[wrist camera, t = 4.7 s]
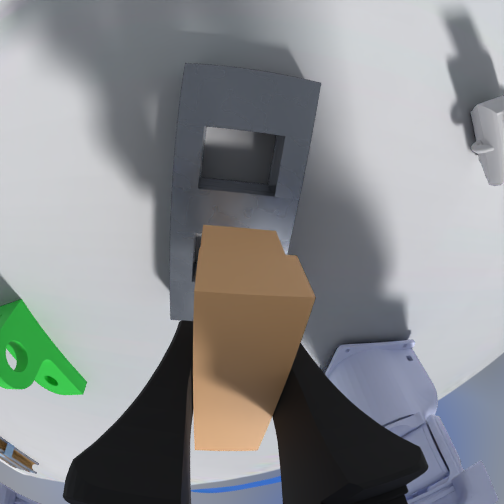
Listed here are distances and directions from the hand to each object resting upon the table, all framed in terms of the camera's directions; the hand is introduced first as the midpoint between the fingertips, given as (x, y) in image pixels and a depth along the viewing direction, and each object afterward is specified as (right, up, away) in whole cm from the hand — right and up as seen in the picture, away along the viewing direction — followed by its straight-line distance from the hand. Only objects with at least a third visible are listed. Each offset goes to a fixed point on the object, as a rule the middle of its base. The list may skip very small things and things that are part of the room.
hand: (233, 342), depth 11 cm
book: (-68, -48, +31) cm, 89 cm away
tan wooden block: (0, +1, +2) cm, 3 cm away
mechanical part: (-22, -7, +13) cm, 26 cm away
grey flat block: (-1, +7, +8) cm, 10 cm away
